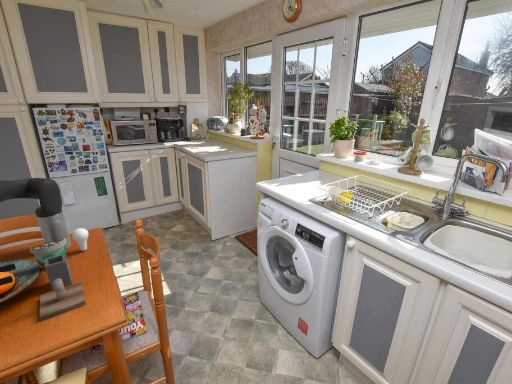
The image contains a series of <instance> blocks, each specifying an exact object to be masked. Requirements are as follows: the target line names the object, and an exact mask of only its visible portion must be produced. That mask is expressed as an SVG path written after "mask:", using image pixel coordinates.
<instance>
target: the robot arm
mask: <svg viewBox="0 0 512 384" xmlns="http://www.w3.org/2000/svg"><path fill="white" fill-rule="evenodd" d="M15 199H33V200H38V202H39V206H38V207H37V208H36V209H35V211H34V213H35V216H36V219H37V223H38V225H39V229H40V232H41V235H42V239H43V242H44V244H46V243H49V242H55V241H59V240H62V239H64V238H65V239H66V240H67V243H66V244H65V245H66V250H68V249H69V248H70V247H71V246H72V243H71V238H70V235H69V234H70V233H69V229H68V227H67V223H66V219H65V216H64V212H63V207H62V206H63V199H62V193H61V189H60V186H59V184H58V182H57V181H56V180H54V179H51V178H44V177H30V178H24V179H16V180H2V179H1V180H0V203H3V202H7V201H8V200H15ZM16 268H17V267H16V264H15V263H9V264H5V265H2V266H0V272H4V273H7V272H11V271H15V270H16ZM13 282H14V279H13V276H12V275H8V276H4V277H1V278H0V286H4V285H5V286H6V285H8V284H12V283H13Z"/></svg>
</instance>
